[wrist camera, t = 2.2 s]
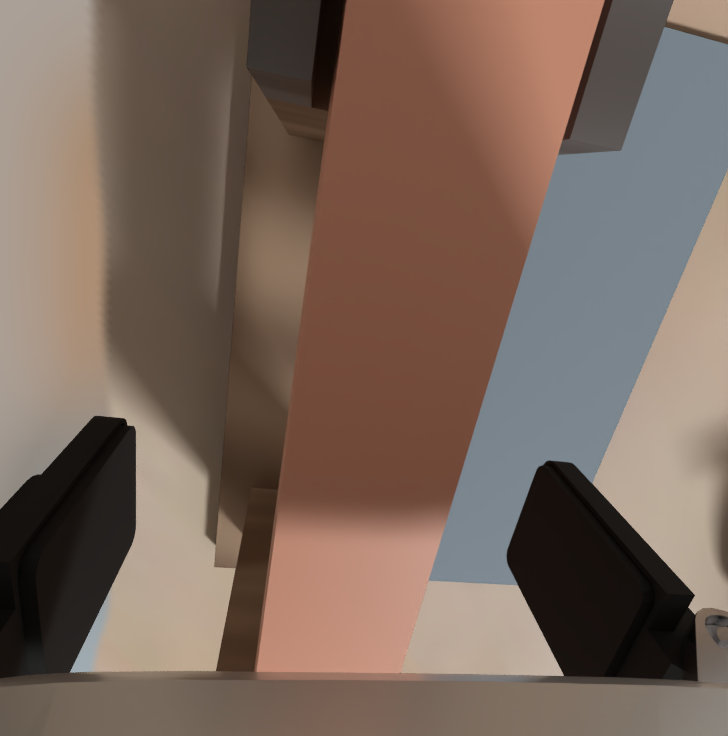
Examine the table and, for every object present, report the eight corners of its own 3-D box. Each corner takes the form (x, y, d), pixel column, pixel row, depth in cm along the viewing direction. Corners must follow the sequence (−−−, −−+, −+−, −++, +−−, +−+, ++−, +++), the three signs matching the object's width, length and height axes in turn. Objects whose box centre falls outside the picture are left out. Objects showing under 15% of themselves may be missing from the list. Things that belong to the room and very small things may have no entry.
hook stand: (265, -39, 15) (119, -701, 4) (493, 20, 17) (914, -331, 5) (218, 549, 24) (134, 888, 13) (367, 557, 26) (413, 873, 14)
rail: (374, -240, 7) (418, -530, 4) (564, -174, 7) (722, -391, 4) (241, 766, 15) (226, 895, 13) (331, 764, 16) (335, 888, 13)
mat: (579, 8, 17) (584, 4, 16) (766, 59, 18) (776, 57, 18) (415, 574, 27) (417, 580, 26) (544, 581, 28) (547, 586, 27)
